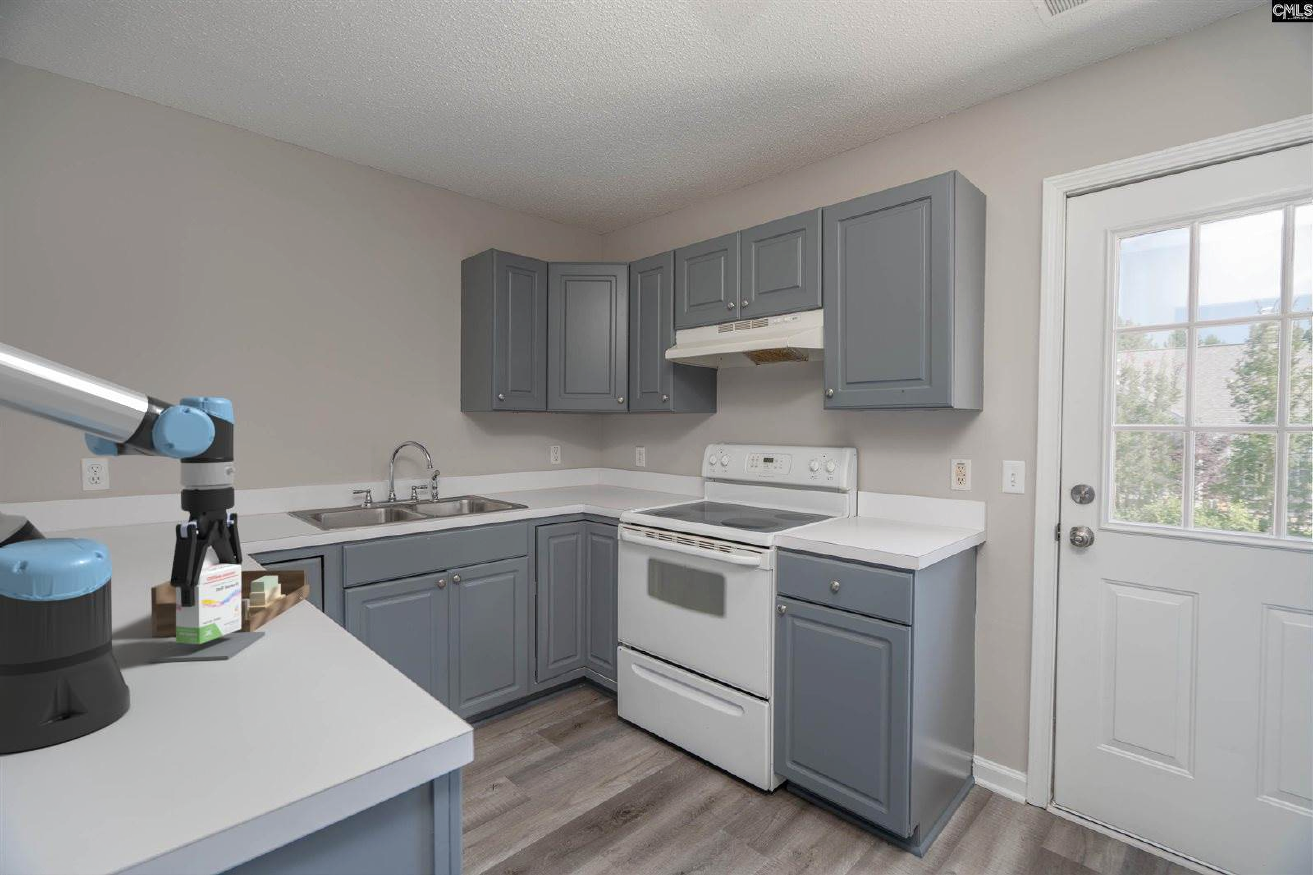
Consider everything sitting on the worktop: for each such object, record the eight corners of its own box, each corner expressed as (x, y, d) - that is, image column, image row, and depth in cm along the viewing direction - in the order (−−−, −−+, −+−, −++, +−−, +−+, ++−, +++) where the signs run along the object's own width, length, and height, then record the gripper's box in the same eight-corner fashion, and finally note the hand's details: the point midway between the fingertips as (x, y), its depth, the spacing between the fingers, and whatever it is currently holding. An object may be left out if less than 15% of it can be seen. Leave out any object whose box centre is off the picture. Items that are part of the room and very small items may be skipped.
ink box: (199, 645, 103) (198, 557, 103) (174, 643, 104) (173, 555, 104) (243, 628, 112) (242, 547, 111) (220, 626, 113) (219, 545, 112)
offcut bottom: (265, 621, 123) (265, 606, 123) (248, 622, 123) (248, 607, 123) (285, 608, 132) (285, 594, 132) (270, 609, 132) (270, 594, 132)
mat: (228, 659, 103) (228, 655, 103) (149, 662, 101) (149, 659, 101) (264, 634, 115) (264, 631, 115) (194, 637, 113) (194, 634, 113)
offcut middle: (265, 605, 124) (265, 592, 124) (250, 605, 124) (249, 593, 124) (280, 595, 131) (280, 583, 131) (266, 596, 131) (266, 584, 131)
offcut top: (264, 591, 125) (264, 581, 125) (250, 592, 125) (250, 582, 125) (278, 585, 130) (277, 575, 130) (265, 585, 130) (265, 575, 130)
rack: (250, 633, 116) (249, 585, 116) (152, 636, 114) (151, 587, 114) (309, 595, 141) (309, 556, 141) (230, 597, 139) (229, 557, 139)
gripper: (191, 493, 97) (193, 636, 97) (263, 480, 119) (264, 597, 119) (139, 494, 96) (141, 638, 97) (221, 481, 118) (222, 598, 118)
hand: (209, 615), depth 108 cm, fingers closed on ink box, 9 cm apart
